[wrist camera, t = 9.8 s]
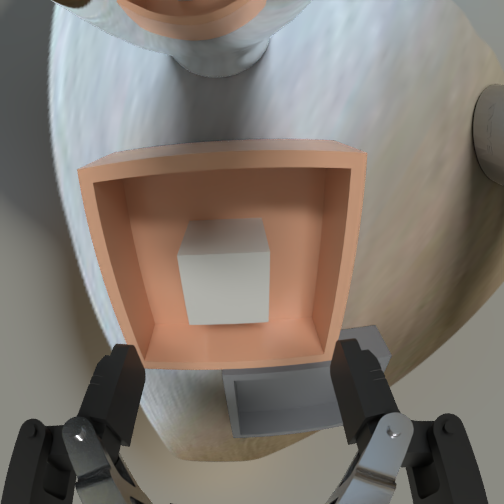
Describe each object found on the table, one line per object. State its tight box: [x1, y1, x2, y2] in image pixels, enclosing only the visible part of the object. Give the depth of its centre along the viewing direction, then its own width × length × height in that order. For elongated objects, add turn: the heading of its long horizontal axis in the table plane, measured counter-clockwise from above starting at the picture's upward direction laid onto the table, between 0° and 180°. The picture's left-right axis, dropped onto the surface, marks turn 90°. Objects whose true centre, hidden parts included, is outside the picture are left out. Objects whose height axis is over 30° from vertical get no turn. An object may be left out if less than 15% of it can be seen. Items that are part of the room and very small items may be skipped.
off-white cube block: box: [177, 218, 270, 325], centre depth 17 cm, size 4×4×4 cm
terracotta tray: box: [77, 139, 367, 370], centre depth 17 cm, size 14×14×5 cm
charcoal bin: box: [222, 325, 392, 438], centre depth 25 cm, size 14×12×4 cm
